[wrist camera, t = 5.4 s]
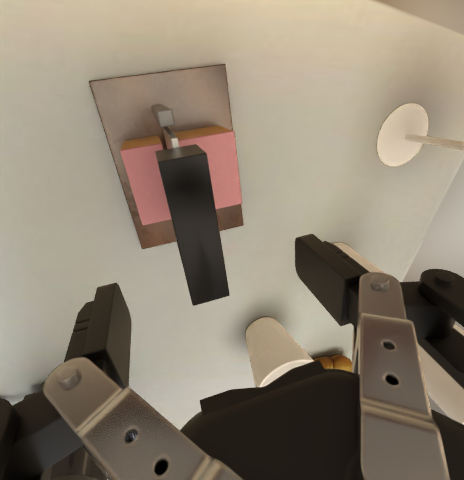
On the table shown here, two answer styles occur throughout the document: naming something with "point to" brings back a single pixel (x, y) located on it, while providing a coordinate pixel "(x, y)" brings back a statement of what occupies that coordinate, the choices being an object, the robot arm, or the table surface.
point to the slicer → (163, 125)
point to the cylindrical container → (428, 364)
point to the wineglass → (407, 135)
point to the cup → (272, 351)
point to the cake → (149, 178)
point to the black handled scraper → (193, 217)
